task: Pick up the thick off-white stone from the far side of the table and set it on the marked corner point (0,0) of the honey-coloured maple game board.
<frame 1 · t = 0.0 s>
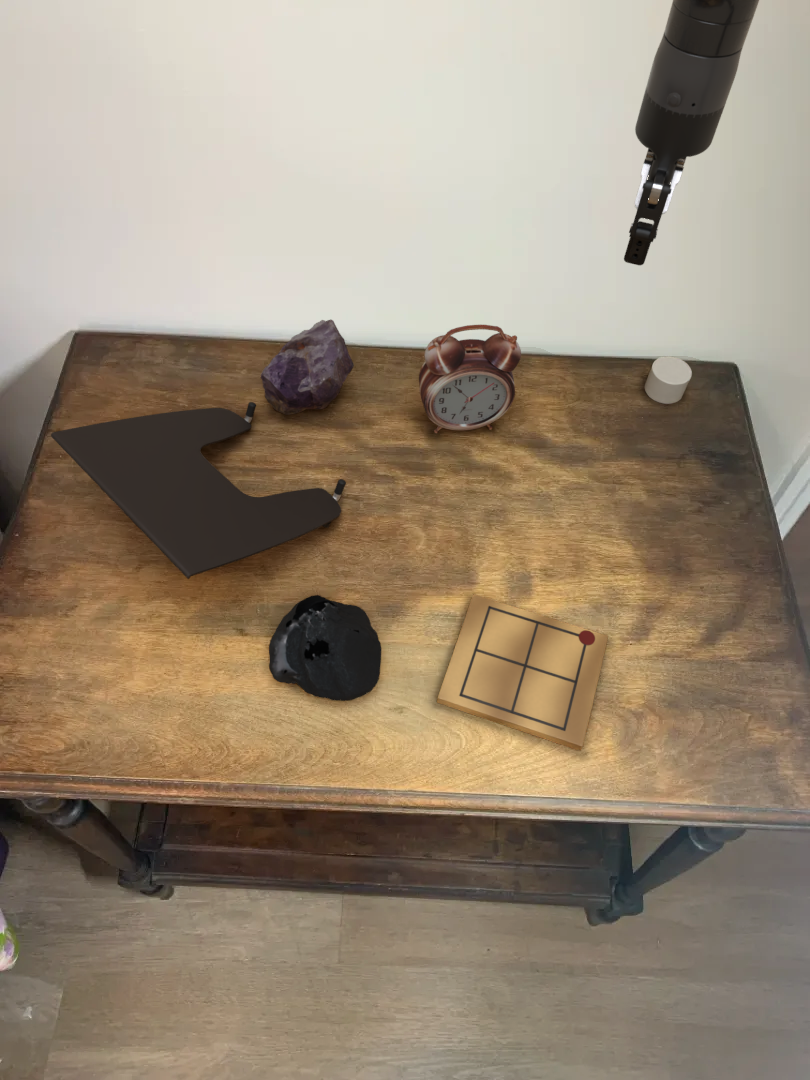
hand: (640, 239, 89), 17 cm above the table, tool pointing down, fingers open, 8 cm apart
alarm clock: (462, 423, 97), on the table
rock 2: (317, 395, 99), on the table
board: (523, 671, 79), on the table
rock: (333, 658, 80), on the table
laptop tray: (225, 506, 89), on the table
stone: (663, 389, 101), on the table
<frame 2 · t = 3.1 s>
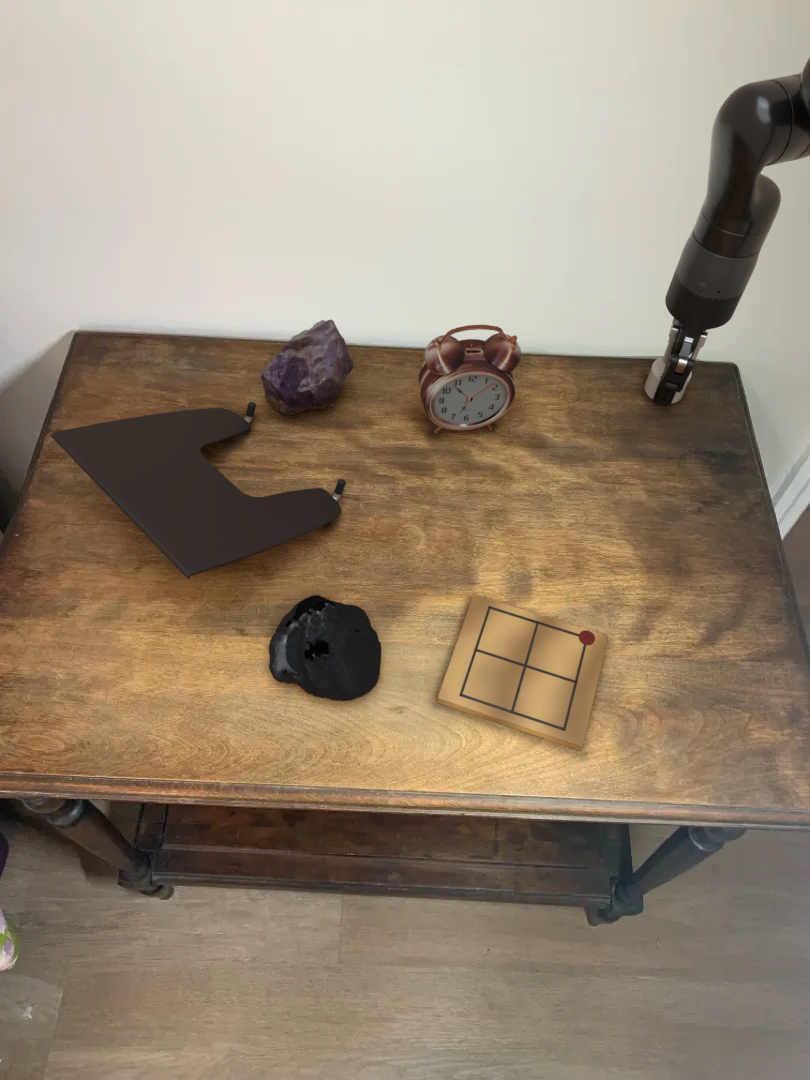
hand: (665, 386, 101), 1 cm above the table, tool pointing down, fingers closed on stone, 4 cm apart
stone: (663, 389, 101), on the table, touching gripper
everything else where it was.
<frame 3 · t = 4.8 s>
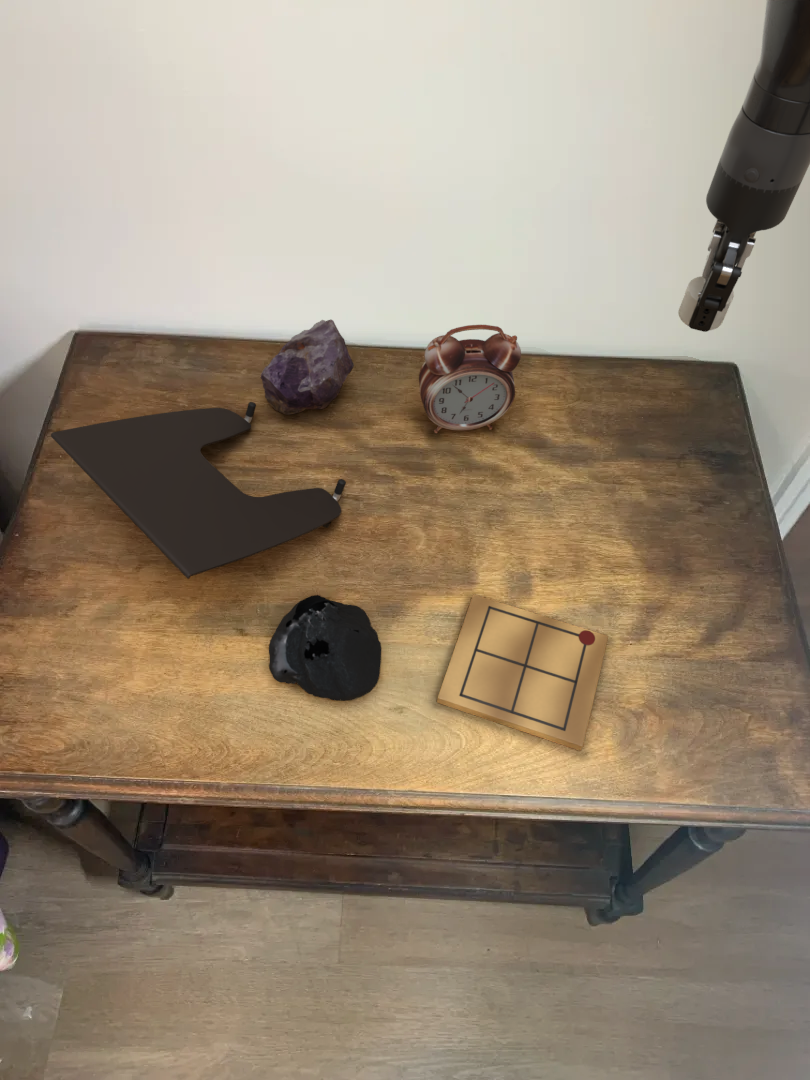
hand: (702, 311, 88), 15 cm above the table, tool pointing down, fingers closed on stone, 4 cm apart
stone: (700, 316, 88), point 14 cm above the table, touching gripper
everything else where it was.
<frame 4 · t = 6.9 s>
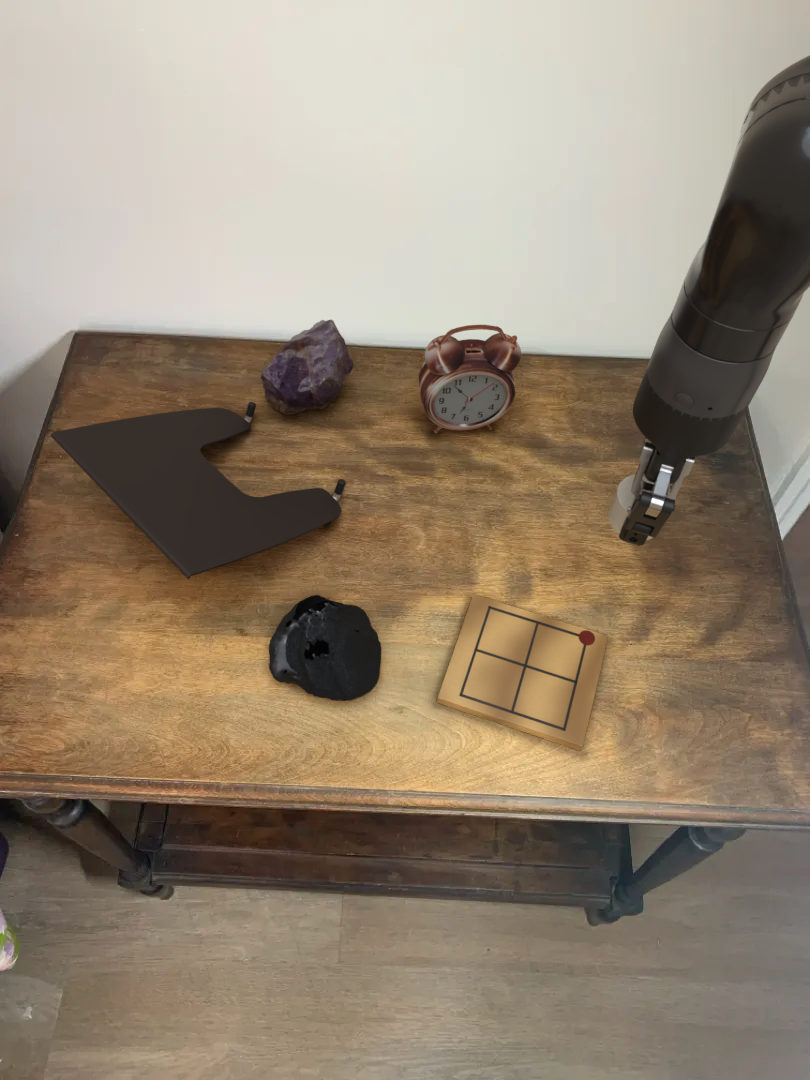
hand: (637, 515, 71), 15 cm above the table, tool pointing down, fingers closed on stone, 4 cm apart
stone: (634, 518, 72), point 15 cm above the table, touching gripper
everything else where it was.
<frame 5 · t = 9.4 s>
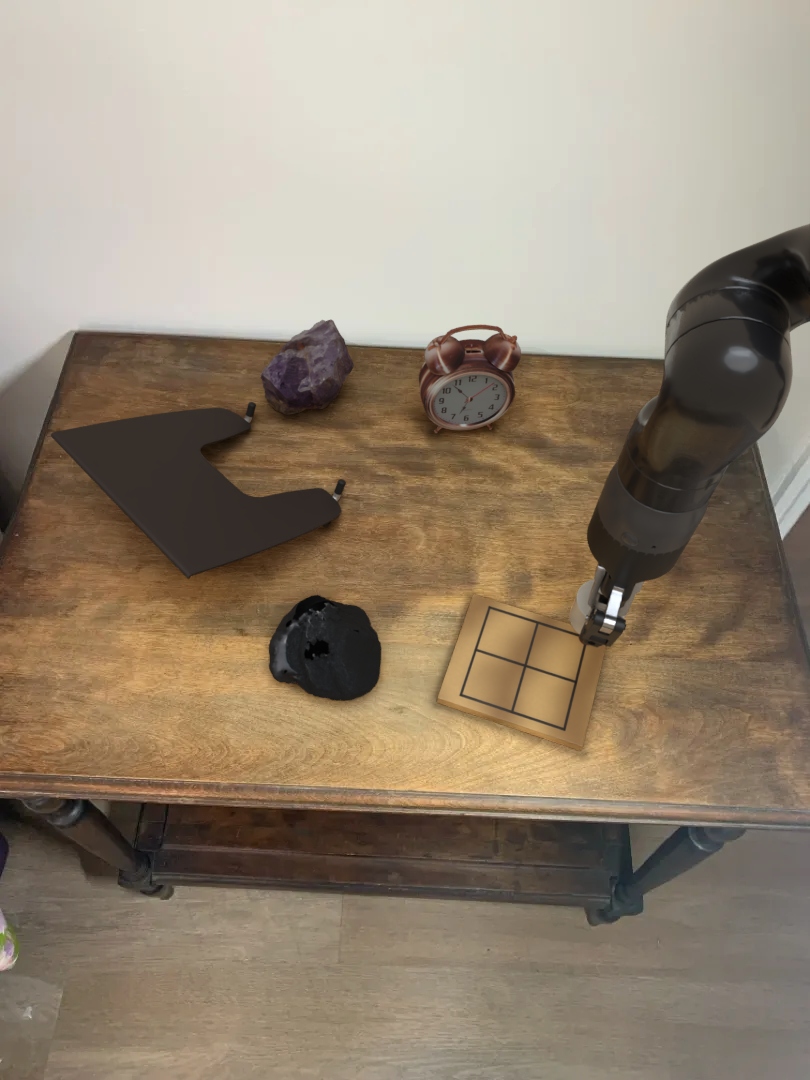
hand: (596, 615, 76), 6 cm above the table, tool pointing down, fingers closed on stone, 4 cm apart
stone: (594, 618, 77), point 5 cm above the table, touching gripper
everything else where it was.
when the fingers open (2 cm above the table, at t = 10.9 s): stone stays where it is, resting on board.
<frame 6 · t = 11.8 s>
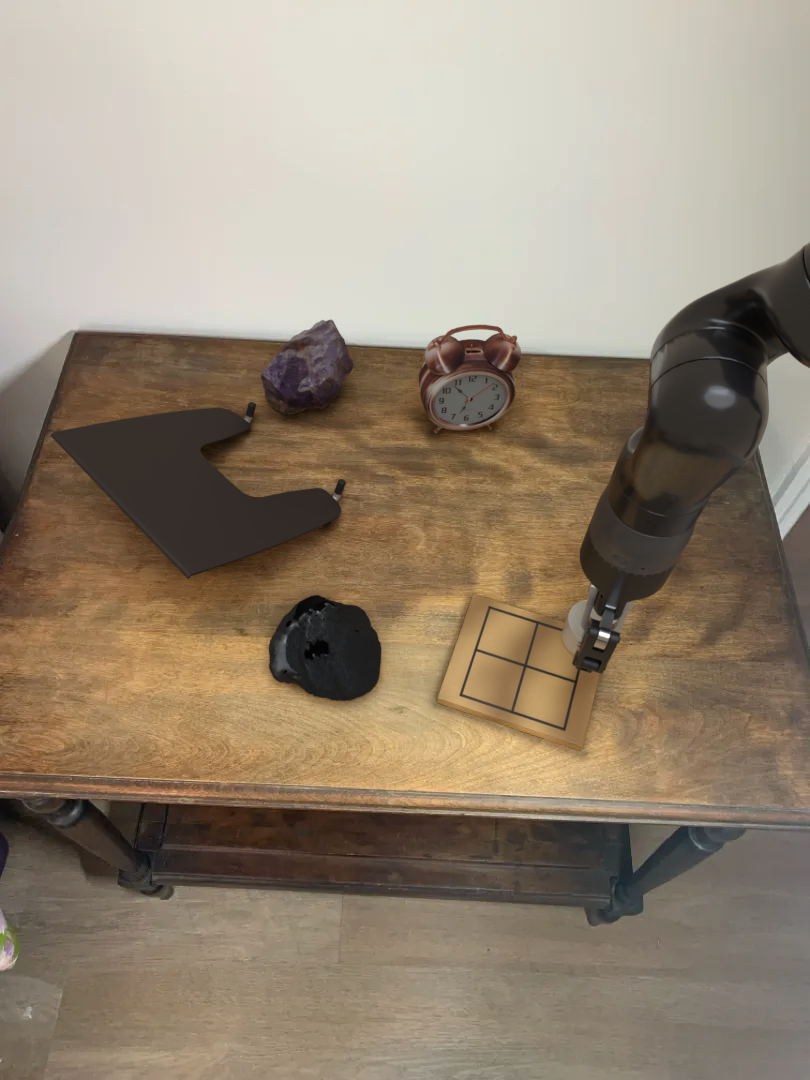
hand: (592, 627, 78), 4 cm above the table, tool pointing down, fingers open, 8 cm apart
stone: (585, 637, 80), point 1 cm above the table, touching board
everything else where it was.
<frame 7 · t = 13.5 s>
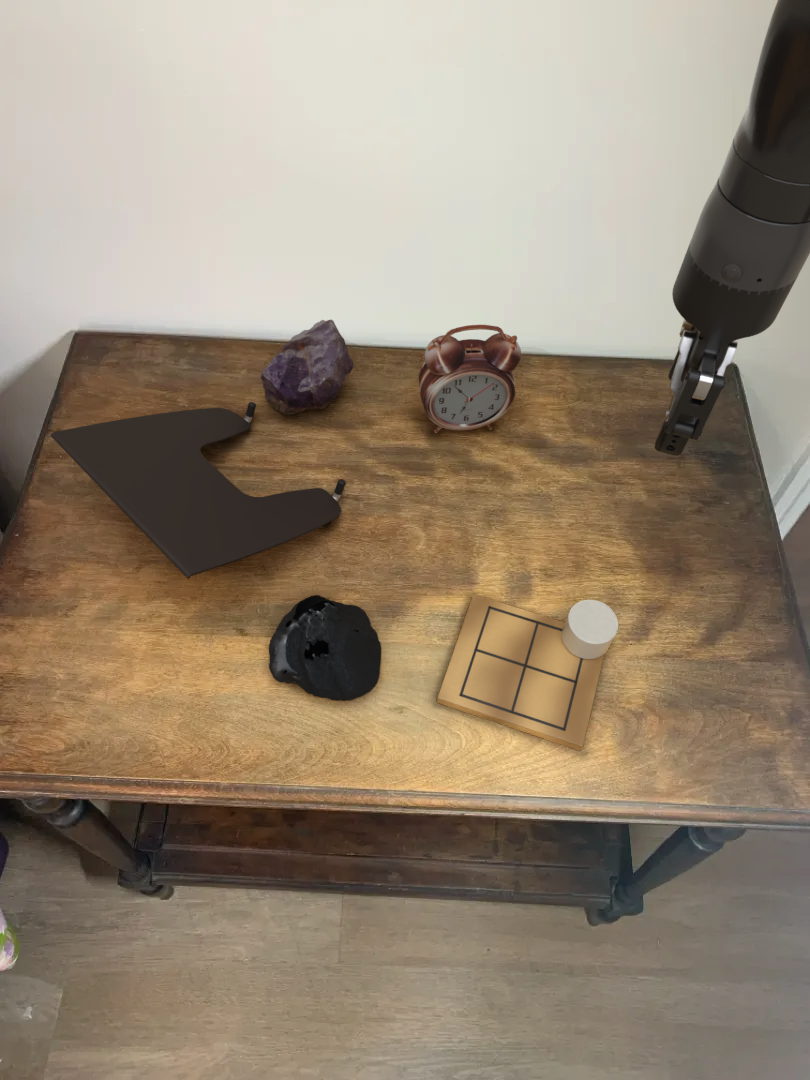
hand: (673, 413, 69), 22 cm above the table, tool pointing down, fingers open, 8 cm apart
nothing on the table moved.
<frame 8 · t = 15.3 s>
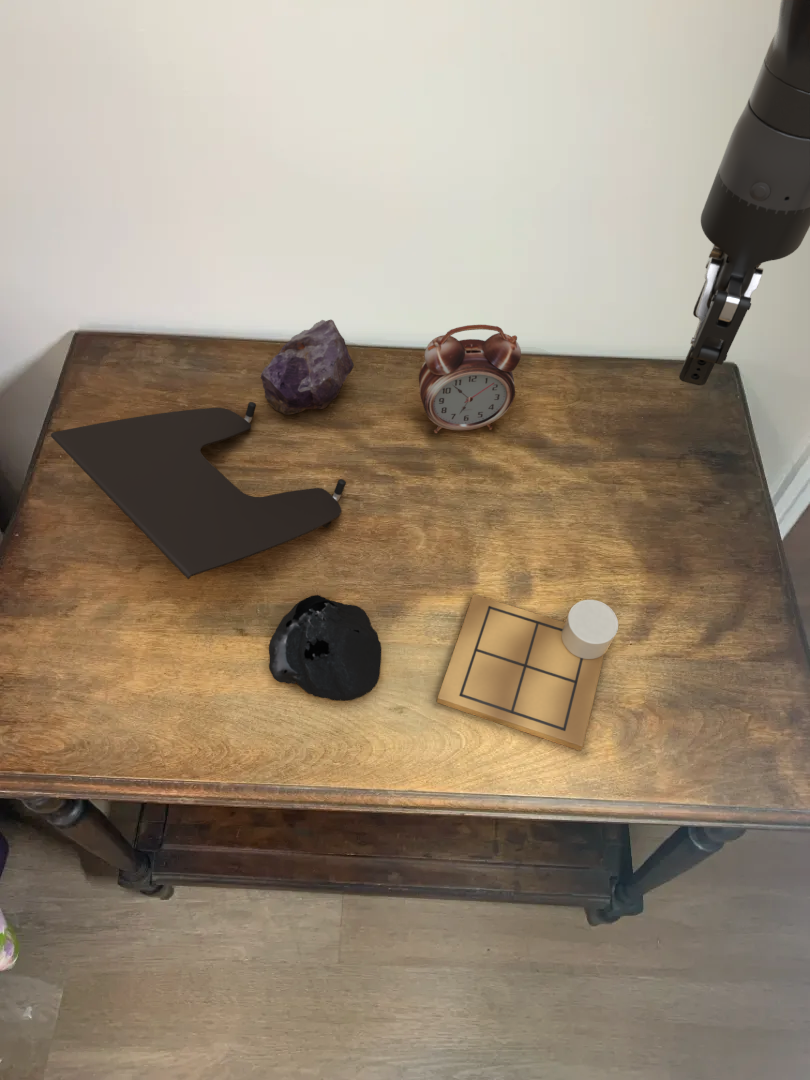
hand: (698, 347, 70), 24 cm above the table, tool pointing down, fingers open, 8 cm apart
nothing on the table moved.
at the end: stone 0.1 cm from the target spot on the board, point 1.3 cm above the board's base; stone tilted 0°; the gripper is holding nothing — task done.
